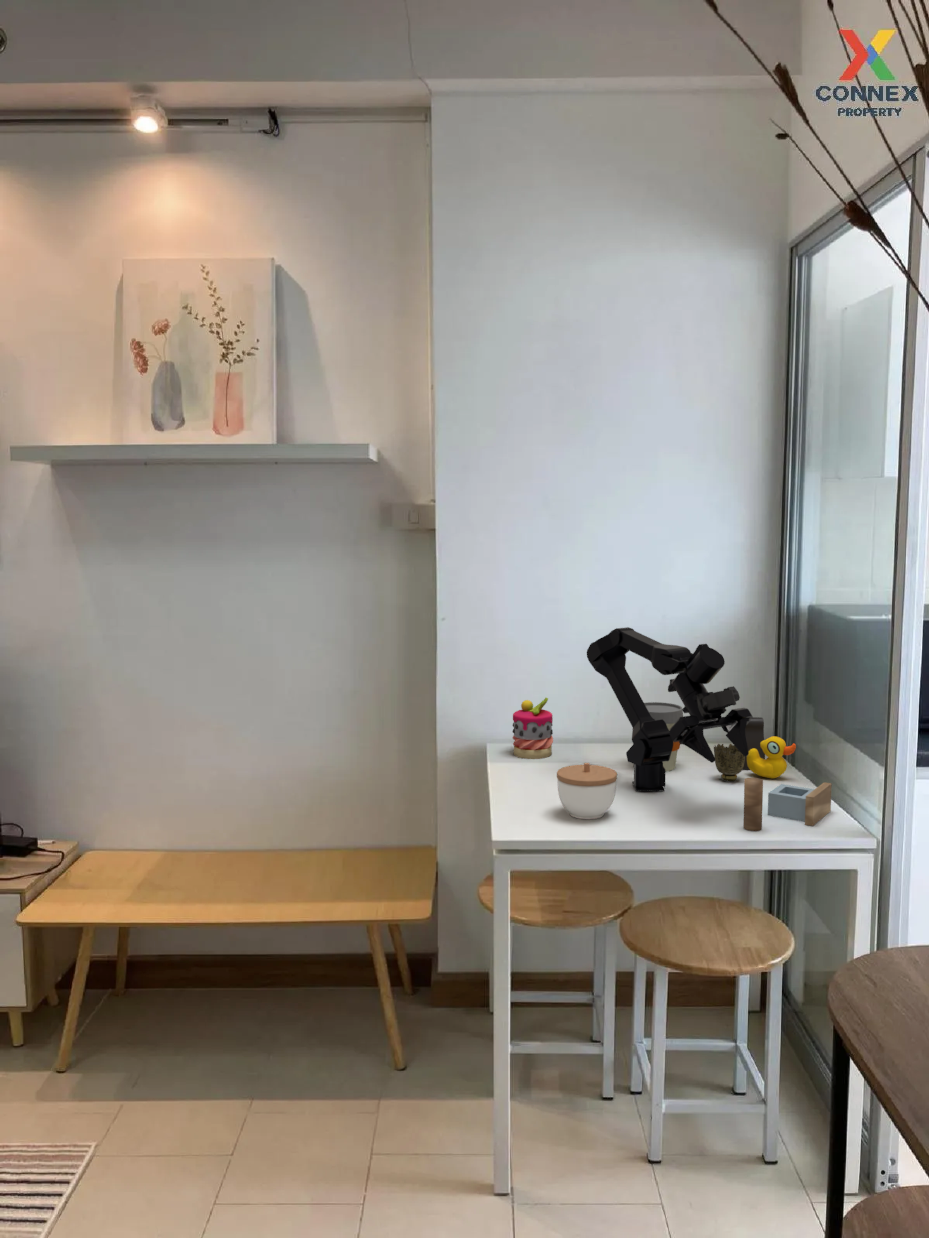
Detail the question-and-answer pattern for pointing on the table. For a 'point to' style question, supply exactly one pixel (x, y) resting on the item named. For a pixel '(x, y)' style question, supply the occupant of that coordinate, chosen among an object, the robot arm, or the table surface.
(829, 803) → the backstop board
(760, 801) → the dowel
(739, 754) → the cup
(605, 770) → the lidded bowl
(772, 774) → the duckling
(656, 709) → the reusable coffee cup
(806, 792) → the socket block
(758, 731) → the phone stand
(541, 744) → the cake
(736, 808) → the table surface
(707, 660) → the robot arm
